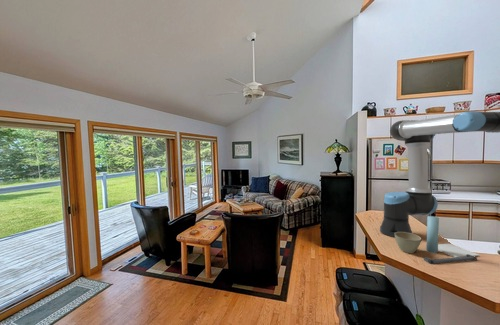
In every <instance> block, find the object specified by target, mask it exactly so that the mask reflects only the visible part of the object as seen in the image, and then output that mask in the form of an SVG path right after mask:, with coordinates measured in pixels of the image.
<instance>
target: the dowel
mask: <svg viewBox="0 0 500 325" xmlns="http://www.w3.org/2000/svg"><path fill="white" fill-rule="evenodd" d="M426 216H427V215H426ZM426 221H427V222H426V248H425V249H426V252H428V253H432V254H438V252H439V250H438V244H439V229H440V228H439V226H440V218H439V217H438V216H433V215H428V216H427V220H426Z"/></svg>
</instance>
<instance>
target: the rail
mask: <svg viewBox="0 0 500 325" xmlns="http://www.w3.org/2000/svg"><path fill="white" fill-rule="evenodd" d="M466 256H467V257H457V258H455V257H445V258H433V259H431V258H429V257H426V256H425V257H423V261H424V262H426V263H428V264H430V265H433V264H435V265H436V264H445V263H447V264H448V263H449V264H450V263H460V262H461V263H462V262H471V261H472V262H474V261H477V259H478V258H477V257H474V256H472V255H469V254H466Z"/></svg>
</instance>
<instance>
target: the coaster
mask: <svg viewBox="0 0 500 325" xmlns="http://www.w3.org/2000/svg"><path fill="white" fill-rule="evenodd" d="M438 252H441V253H444V254H445V255H448V256H450V257H451V258H457V257H467V256H466V254H469V255H472V256H478V257H480V254H478V253H475V252H473V251H470V250H468V249H465V248H462V247H460V246H457V245H455V244H453V243H438Z"/></svg>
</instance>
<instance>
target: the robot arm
mask: <svg viewBox="0 0 500 325" xmlns="http://www.w3.org/2000/svg"><path fill="white" fill-rule="evenodd" d="M472 132H473V133H474V132H475V133H476V132H484V133H485V132H486V133H489V134H490V133H492V134H493V133H500V111H476V110H470V111H463V112H460V113H458V114H452V115H451V114H450V115H446V116H438V117H432V118H427V119H420V120H418V119H415V120H413V119H412V120H409V119H405V120H403V119H401V120H398V121H395V123H393V124H391V126H390V130H389V133H390V136H391V137H392V138H393V139H395V141H396V140H397V141H400V142H401V141H403V142H404V146H406V147H407V152H408V153H407V155H408V156H407V158H408V159H407V162H408V167H407V168H408V188H407V189H406V190H405V192H404V191H390V192H387V193H386V192H385V194H384V199H383V220H382V221H381V225H380V226H379V232H380V233H381V234H383V235H385V236H387V237H391V238H395V233H396V232H406V233H411V234H413V231H412V228H411V225H410V222H409V220H410V219H409V218H410V216H427V215H431V214H433V213H435V212H436V211H437V209H438V206H439V204H438V199H437V198H436V197H435V195H432V190H430V189H429V176H428V175H429V174H428V171H429V170H428V167H429V165H428V146H429V145H430V144H431V141H432V140H433V139H434V138H435V136H436V135H441V134H443V135H444V134H445V135H446V134H454V133H455V134H459V133H472Z"/></svg>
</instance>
